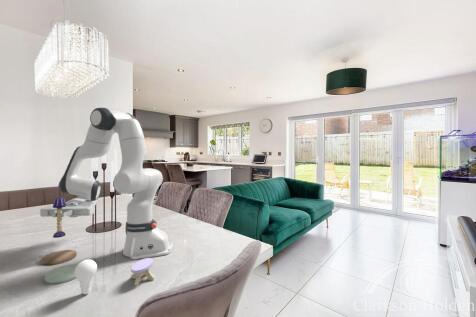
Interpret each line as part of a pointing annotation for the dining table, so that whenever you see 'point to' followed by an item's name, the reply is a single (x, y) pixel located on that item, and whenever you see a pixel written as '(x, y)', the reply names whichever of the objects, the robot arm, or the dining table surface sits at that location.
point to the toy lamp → (59, 204)
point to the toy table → (142, 270)
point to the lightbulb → (85, 274)
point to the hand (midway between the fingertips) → (58, 215)
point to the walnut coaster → (58, 257)
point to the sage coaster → (61, 274)
